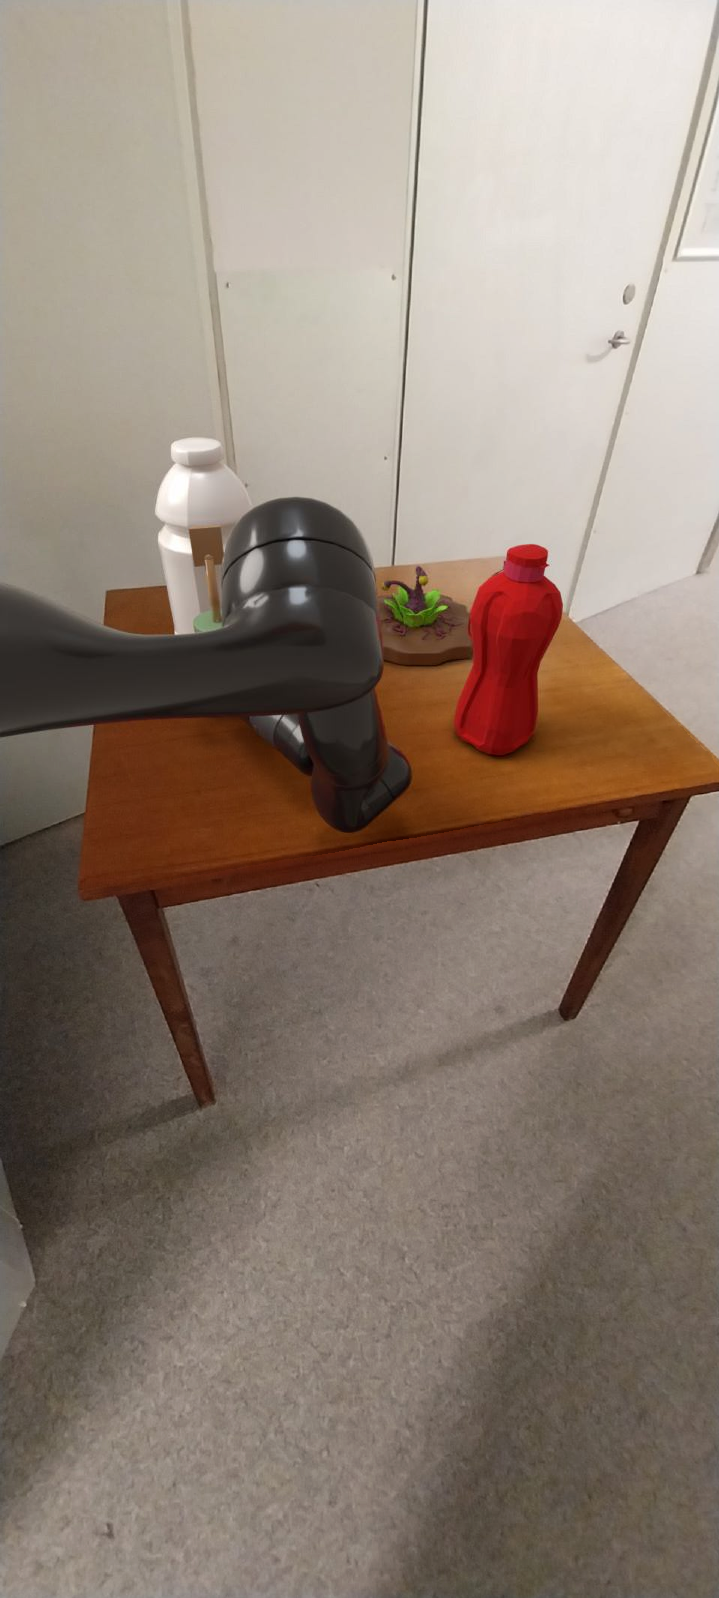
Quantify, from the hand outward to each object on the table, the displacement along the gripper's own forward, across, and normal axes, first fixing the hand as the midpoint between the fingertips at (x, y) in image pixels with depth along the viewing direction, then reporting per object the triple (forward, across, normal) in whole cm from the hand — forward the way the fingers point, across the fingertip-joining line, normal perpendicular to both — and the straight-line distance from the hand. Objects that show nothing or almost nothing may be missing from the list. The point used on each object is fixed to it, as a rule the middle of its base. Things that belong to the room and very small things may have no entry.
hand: (213, 650), depth 88 cm
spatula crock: (-2, 0, +7) cm, 7 cm away
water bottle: (-28, -25, +8) cm, 38 cm away
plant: (-2, -34, +7) cm, 34 cm away
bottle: (+14, -8, +7) cm, 18 cm away
